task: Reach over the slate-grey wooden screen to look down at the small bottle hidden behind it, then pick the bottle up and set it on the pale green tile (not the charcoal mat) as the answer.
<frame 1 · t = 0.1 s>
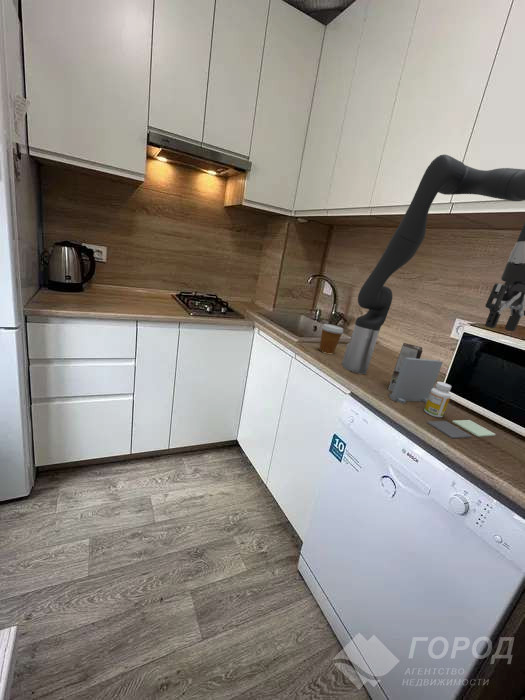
hand: (499, 329, 84), 29 cm above the countertop, tool pointing down, fingers open, 8 cm apart
supplement bottle: (432, 414, 101), on the countertop
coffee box: (397, 390, 116), on the countertop
green pad: (473, 428, 95), on the countertop
grey pad: (448, 429, 91), on the countertop
screen: (409, 400, 108), on the countertop
disposable coffee cup: (326, 352, 148), on the countertop
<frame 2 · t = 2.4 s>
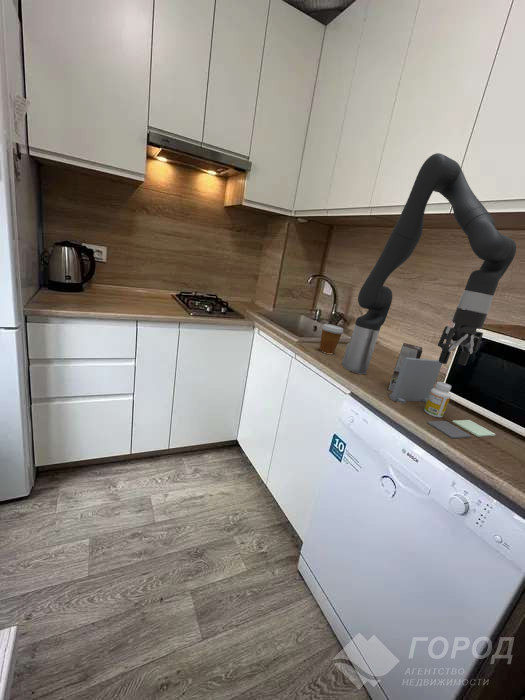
hand: (451, 363, 96), 16 cm above the countertop, tool pointing down, fingers open, 8 cm apart
nothing on the countertop moved.
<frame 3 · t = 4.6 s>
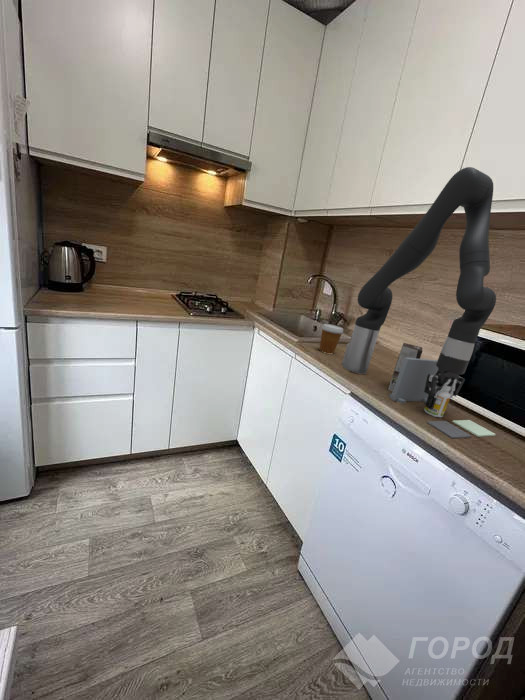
hand: (435, 407, 100), 2 cm above the countertop, tool pointing down, fingers closed on supplement bottle, 5 cm apart
supplement bottle: (432, 414, 101), on the countertop, touching gripper
everything else where it was.
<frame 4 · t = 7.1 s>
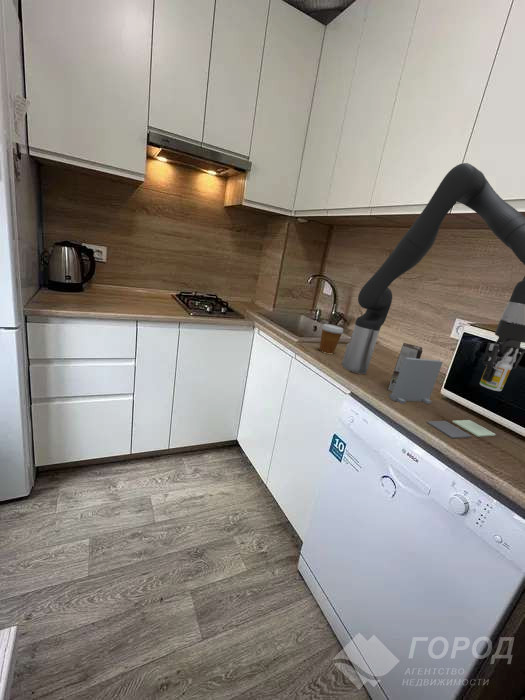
hand: (492, 380, 92), 15 cm above the countertop, tool pointing down, fingers closed on supplement bottle, 5 cm apart
supplement bottle: (489, 388, 92), point 13 cm above the countertop, touching gripper
everything else where it was.
when the fingers open (3 cm above the countertop, at t = 9.6 s): supplement bottle stays where it is, resting on green pad.
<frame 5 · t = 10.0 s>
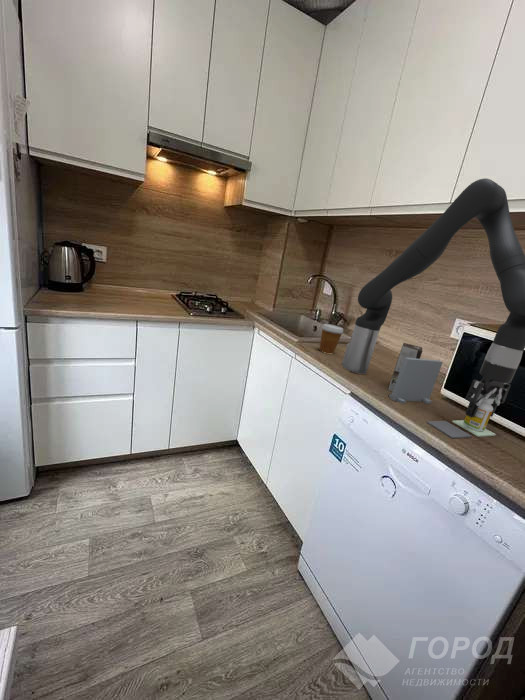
hand: (478, 415, 94), 4 cm above the countertop, tool pointing down, fingers open, 8 cm apart
supplement bottle: (473, 427, 95), resting on green pad
everything else where it was.
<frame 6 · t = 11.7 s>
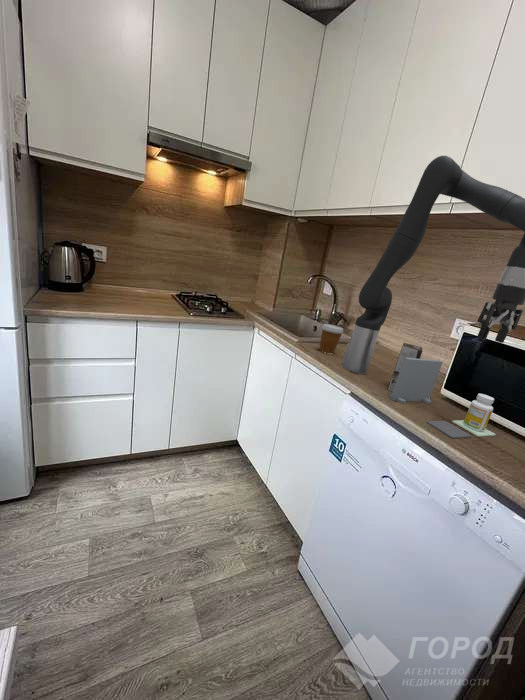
hand: (489, 340, 96), 25 cm above the countertop, tool pointing down, fingers open, 8 cm apart
nothing on the countertop moved.
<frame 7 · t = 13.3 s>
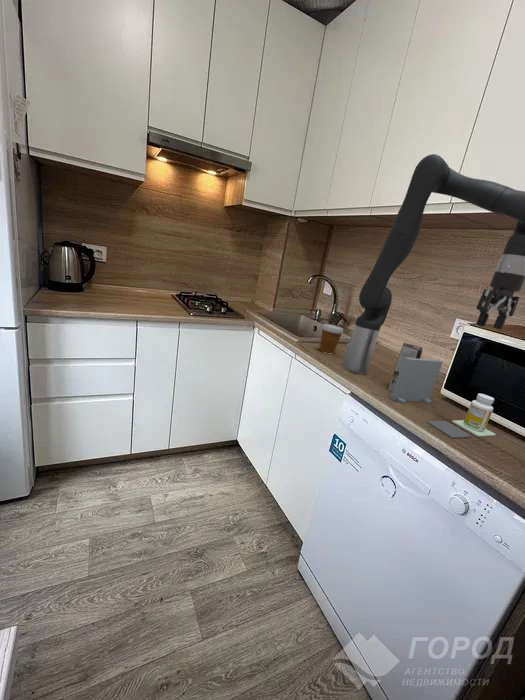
hand: (488, 327, 99), 28 cm above the countertop, tool pointing down, fingers open, 8 cm apart
nothing on the countertop moved.
at the end: supplement bottle 0.1 cm from the green pad (horizontally); supplement bottle tilted 0°; the gripper is holding nothing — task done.
